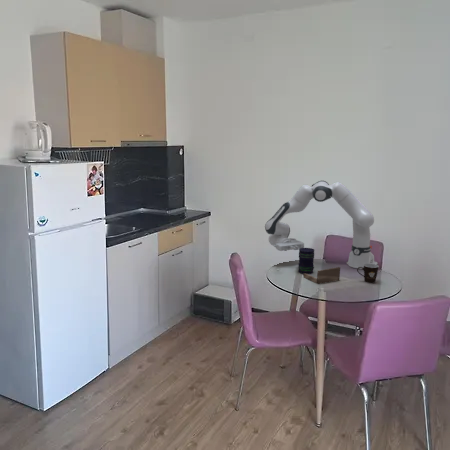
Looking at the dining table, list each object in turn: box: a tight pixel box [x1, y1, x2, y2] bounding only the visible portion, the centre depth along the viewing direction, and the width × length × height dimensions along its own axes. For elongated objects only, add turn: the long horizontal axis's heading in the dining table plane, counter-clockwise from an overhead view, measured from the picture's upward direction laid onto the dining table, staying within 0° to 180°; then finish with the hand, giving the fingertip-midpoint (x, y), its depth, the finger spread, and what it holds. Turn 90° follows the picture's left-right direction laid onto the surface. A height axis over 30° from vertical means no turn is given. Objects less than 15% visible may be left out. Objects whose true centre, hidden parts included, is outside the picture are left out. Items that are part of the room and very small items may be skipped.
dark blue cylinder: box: [297, 247, 315, 275], centre depth 288 cm, size 10×10×15 cm
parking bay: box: [303, 266, 341, 285], centre depth 275 cm, size 14×16×8 cm
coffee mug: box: [356, 264, 380, 284], centre depth 271 cm, size 12×9×10 cm
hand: (296, 248), depth 295 cm, fingers closed
